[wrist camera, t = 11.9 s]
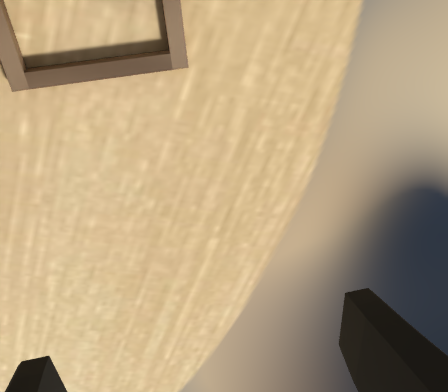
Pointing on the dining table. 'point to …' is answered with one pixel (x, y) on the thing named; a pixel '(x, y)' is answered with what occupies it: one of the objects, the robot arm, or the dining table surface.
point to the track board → (93, 69)
